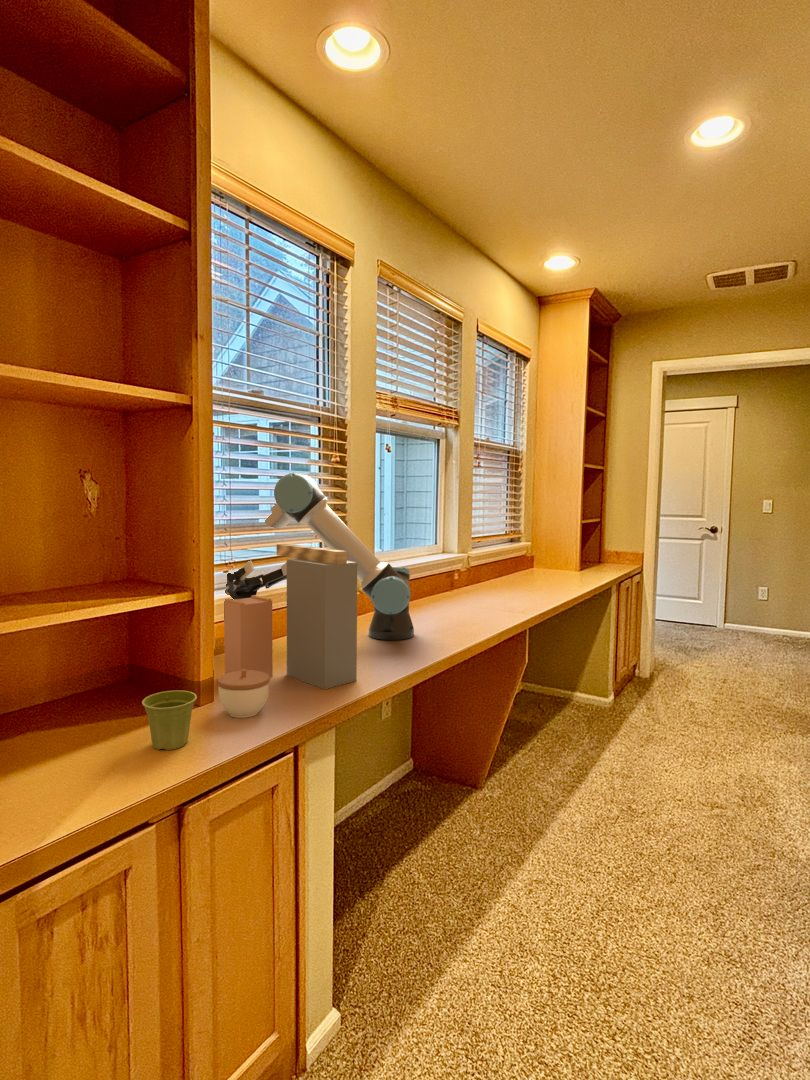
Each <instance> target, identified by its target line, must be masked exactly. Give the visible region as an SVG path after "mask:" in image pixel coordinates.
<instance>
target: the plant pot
mask: <svg viewBox="0 0 810 1080" xmlns="http://www.w3.org/2000/svg"><path fill="white" fill-rule="evenodd" d="M197 699H198V696H197V694H196V693H194V692H192V691H189V690H177V689H176V690H165V691H160V692H157V693H153V694H150V695H148V696H146V697H145V698H144V699H142V701H141V704H142V706H143V707H144V709H145V713H146V714H147V721H148V726H149V730H150V738H151V743H152V747H153V748H154V749H155V750H162V749H163V750H166V751H173V750H176V749H180V748H182V747H184V746H185V745H186V743H188V742H189V741H188V740H189V734H190V726H191V719H192V712H193V709H194V706H195V702H196V701H197Z"/></svg>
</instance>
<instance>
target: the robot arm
mask: <svg viewBox="0 0 810 1080" xmlns="http://www.w3.org/2000/svg"><path fill="white" fill-rule="evenodd" d="M273 491H274V492H273V495H274V501H275V500H276V503H277V505H275V506H273V505H272V506H273V507H272V506H271V507H270V508H271V511H272V514H271V515H270V516H269V517H268V518H267V519H266V520H265V523H266V524H267V525H268V526H271V527H274V528H283V527H284V528H285V527H286V526H287V525H288V524H289V523H290V522H291V521H296V522H297V523H298V524H299V525H306V526H307V527H308V528H310V529H311V531H312V532H313V533H314V534H315V535H316V536H317V537H318V538H319V539H320V540H321V541H322V543H324V544H325V546H326V547H327V548H328V549H333V550H342V551H347V561H351V562H357V580H358V581H359V582H360V590H361V591H363V593H364V594H365V595H366V596H367V597H368V598H369V599H370V600H371V603H372V604H373V607H374V610H373V611H374V612H373V614H372V618H371V621H370V624H369V627H368V636H369V637H371V638H372V639H377V640H383V641H384V640H385V641H401V640H407V639H411V638H413V637H414V635H415V627H414V625H413V624H414V623H413V622H412V617H411V615H410V601H411V597H412V596H411V595H412V592H411V589H410V588H411V587H410V577H411V573H410V568H409V567H405V566H392V565H391V564H390V563H389V562H384V561H383V562H382V561H381V560H379V559H378V558H377V556H375V554H374V553H373V552H372V551H371V550H370V549H369V548H368V547H367V546H366V545H365V544H364V543H363V542H362V541H361V539H360V538H359V537H358V536H357V535H356V534H355V533H354V532H353V531H352V530H351V529H350V528H349V526H348V525H346V524H345V522H344V521H343V520H342V519H341V518H340V517H339V516H338V515H337V514H336V513H335V512H334V511H333V510H332V509H331V507H329V505H328V497H327V496H326V495H325V494H324V493H323V492H322V490H320V488H319V486H318V484H317V482H316V481H315V480H314V479H313V478H312V477H311V476H309V475H306V474H303V473H301V472H289V473H288V474H285V475H283V476H282V477H281V478H280V479H279V480H277V482H276V484H275V486H274V490H273ZM284 528H283V529H284ZM289 559H295V558H290V557H289ZM253 571H255V568H254V564H253V561H252V559H251V560H250V561H248V562H247V563H246V564H245V565H244V566H243V567H242V568H241V569H239V570H238V571H236V572H234V574H231V573H228V574H227V584H226V588H227V589H226V590H225V593H226V594H227V595H230V596H231V597H232V598H233V599H234V600H235V599H243V598H251V596H252V595H256V596H257V594H258V591H259V590H260V589H261V588H264V587H265V589H270V588H271V587H272V586H274V585H277V584H278V583H280V582H282V581H284V580H287V561H286V562H284V563H283V564H282V566H280V568H278V569H276V570H273V571H271V572H269V573H266V574H259V575H257V576H253V577H248V576H249V575H250V574H251V573H252V572H253Z"/></svg>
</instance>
